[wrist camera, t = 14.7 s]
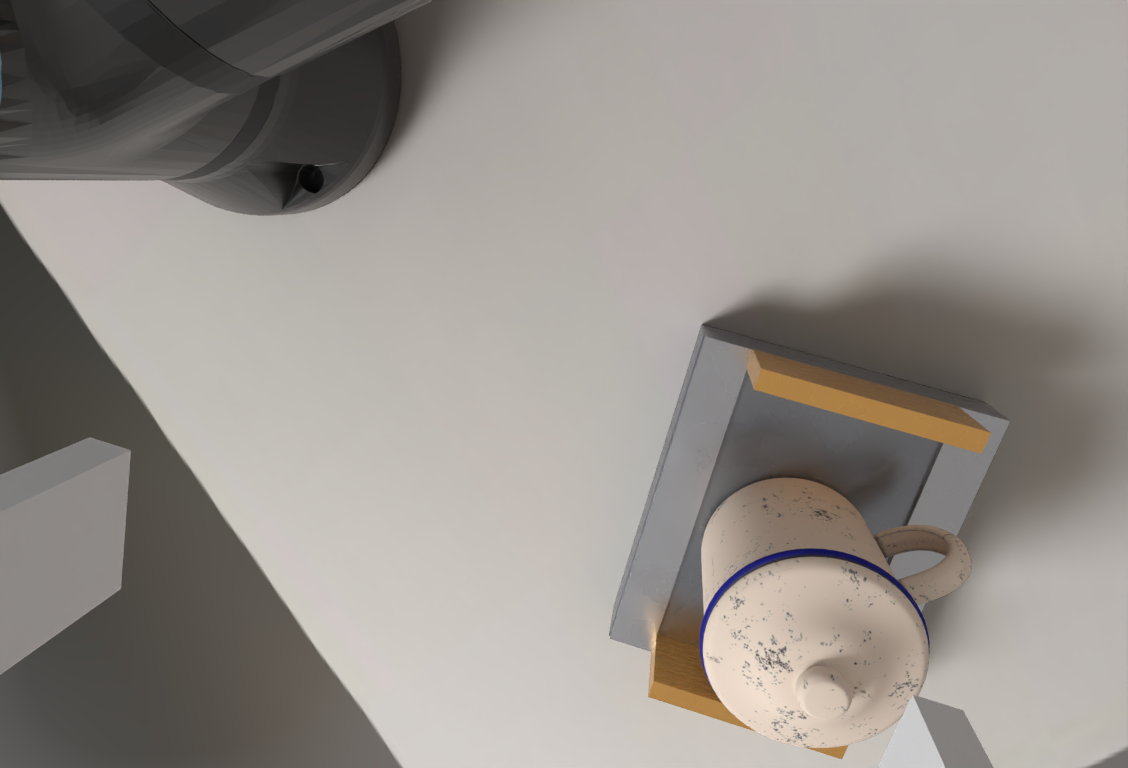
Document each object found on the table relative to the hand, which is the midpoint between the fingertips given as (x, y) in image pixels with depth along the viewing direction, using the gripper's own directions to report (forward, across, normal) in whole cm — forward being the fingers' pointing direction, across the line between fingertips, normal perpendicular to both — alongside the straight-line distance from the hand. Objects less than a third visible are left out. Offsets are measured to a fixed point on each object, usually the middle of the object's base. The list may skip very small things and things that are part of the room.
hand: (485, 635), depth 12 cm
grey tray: (+29, +12, -8) cm, 32 cm away
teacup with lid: (+26, +12, -8) cm, 30 cm away
